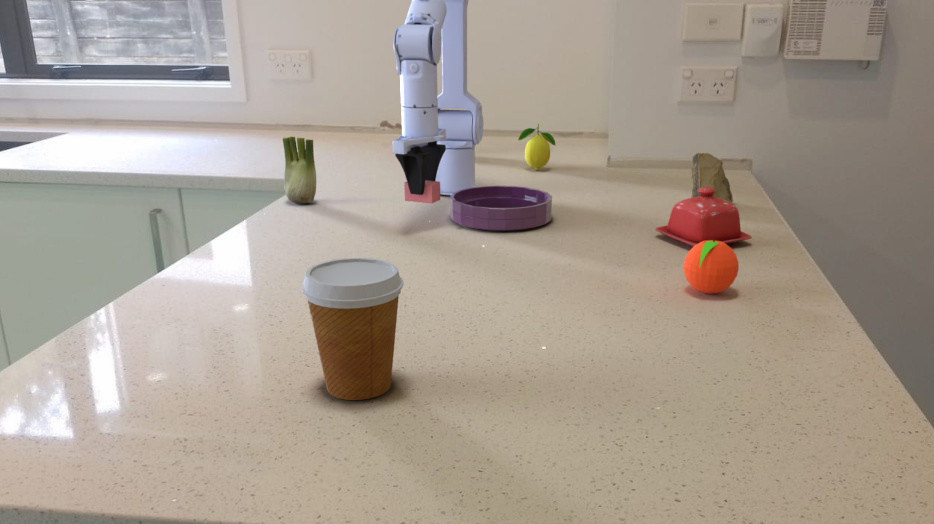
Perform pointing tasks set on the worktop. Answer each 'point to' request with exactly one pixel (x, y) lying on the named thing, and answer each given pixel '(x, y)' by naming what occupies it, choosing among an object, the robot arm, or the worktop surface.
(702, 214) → the butter dish
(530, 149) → the lemon
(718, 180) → the rock
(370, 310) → the disposable coffee cup
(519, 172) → the worktop surface
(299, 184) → the fennel bulb
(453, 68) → the robot arm
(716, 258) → the clementine
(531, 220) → the bowl
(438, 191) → the eraser
